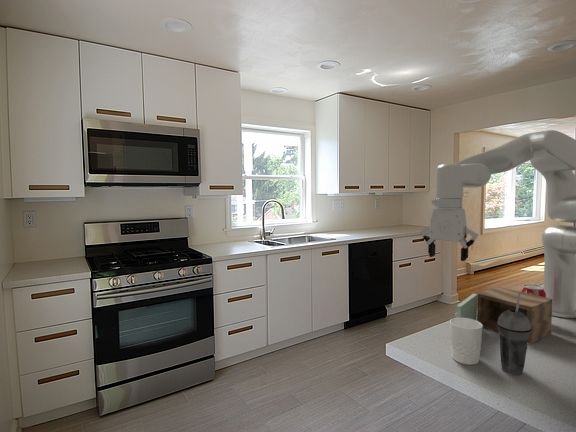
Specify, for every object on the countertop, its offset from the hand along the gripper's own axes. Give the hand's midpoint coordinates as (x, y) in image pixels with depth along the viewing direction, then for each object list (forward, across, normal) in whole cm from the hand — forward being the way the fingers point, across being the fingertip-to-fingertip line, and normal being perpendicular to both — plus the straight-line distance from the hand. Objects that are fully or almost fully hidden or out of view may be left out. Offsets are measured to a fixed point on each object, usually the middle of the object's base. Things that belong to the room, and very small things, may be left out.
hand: (447, 258), depth 111 cm
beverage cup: (+24, +21, -14) cm, 35 cm away
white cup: (+24, +10, -15) cm, 30 cm away
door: (+23, +5, +3) cm, 24 cm away
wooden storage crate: (+24, +16, +15) cm, 32 cm away
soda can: (+24, +19, +27) cm, 41 cm away
